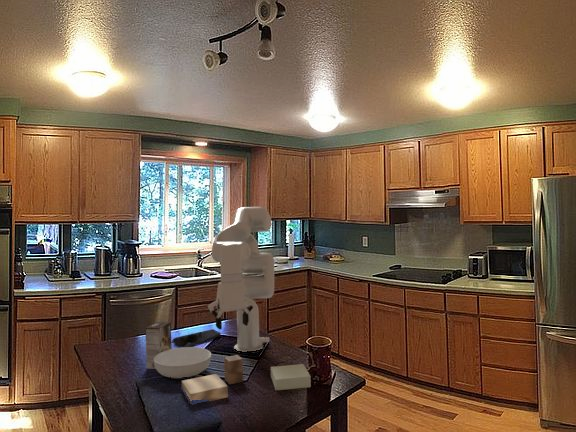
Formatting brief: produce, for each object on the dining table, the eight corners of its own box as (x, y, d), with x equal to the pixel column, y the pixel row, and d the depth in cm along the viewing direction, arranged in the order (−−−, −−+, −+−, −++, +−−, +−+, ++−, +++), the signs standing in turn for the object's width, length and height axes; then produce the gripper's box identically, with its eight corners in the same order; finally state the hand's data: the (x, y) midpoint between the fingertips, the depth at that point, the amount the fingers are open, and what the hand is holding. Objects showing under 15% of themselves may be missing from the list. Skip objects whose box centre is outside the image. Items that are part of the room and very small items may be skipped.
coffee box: (157, 360, 170) (156, 321, 170) (172, 361, 169) (171, 321, 169) (145, 368, 161) (144, 327, 161) (161, 369, 160) (160, 328, 160)
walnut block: (237, 376, 151) (237, 354, 151) (243, 381, 147) (242, 358, 147) (224, 379, 149) (224, 357, 149) (229, 384, 144) (229, 361, 144)
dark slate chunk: (225, 338, 200) (225, 328, 200) (184, 349, 185) (184, 339, 185) (207, 332, 211) (207, 323, 211) (167, 342, 196) (167, 332, 196)
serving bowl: (182, 389, 141) (182, 369, 141) (141, 378, 152) (141, 359, 152) (223, 369, 159) (222, 351, 159) (183, 360, 170) (183, 343, 170)
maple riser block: (216, 385, 145) (216, 373, 145) (227, 398, 134) (227, 386, 134) (181, 392, 140) (181, 380, 140) (190, 407, 129) (190, 394, 129)
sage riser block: (303, 374, 153) (303, 363, 153) (310, 388, 141) (310, 376, 141) (270, 377, 151) (270, 366, 151) (275, 391, 139) (275, 379, 139)
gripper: (250, 275, 155) (250, 321, 155) (204, 279, 147) (205, 327, 147) (258, 277, 148) (259, 325, 148) (211, 281, 140) (212, 332, 140)
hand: (232, 326), depth 147 cm, fingers open, 9 cm apart
